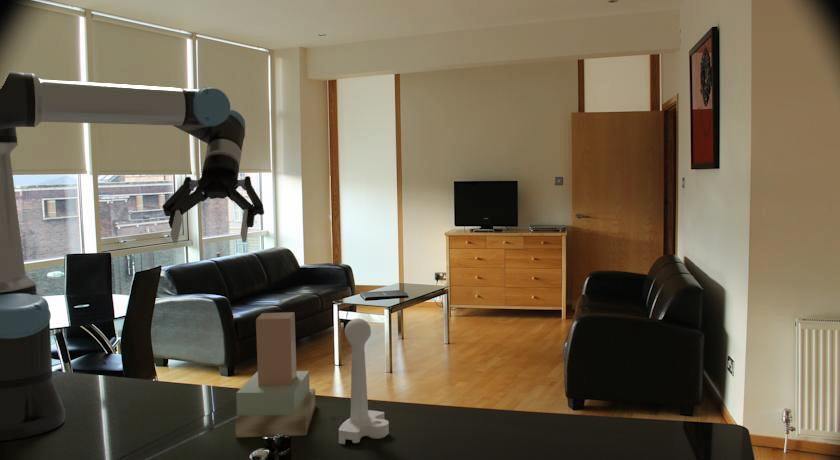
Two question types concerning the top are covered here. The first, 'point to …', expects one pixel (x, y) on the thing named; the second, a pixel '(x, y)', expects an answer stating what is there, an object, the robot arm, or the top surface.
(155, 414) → the top surface
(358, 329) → the joystick
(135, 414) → the top surface
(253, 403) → the tower top
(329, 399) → the top surface
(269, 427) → the tower base
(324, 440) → the top surface
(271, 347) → the terracotta column
